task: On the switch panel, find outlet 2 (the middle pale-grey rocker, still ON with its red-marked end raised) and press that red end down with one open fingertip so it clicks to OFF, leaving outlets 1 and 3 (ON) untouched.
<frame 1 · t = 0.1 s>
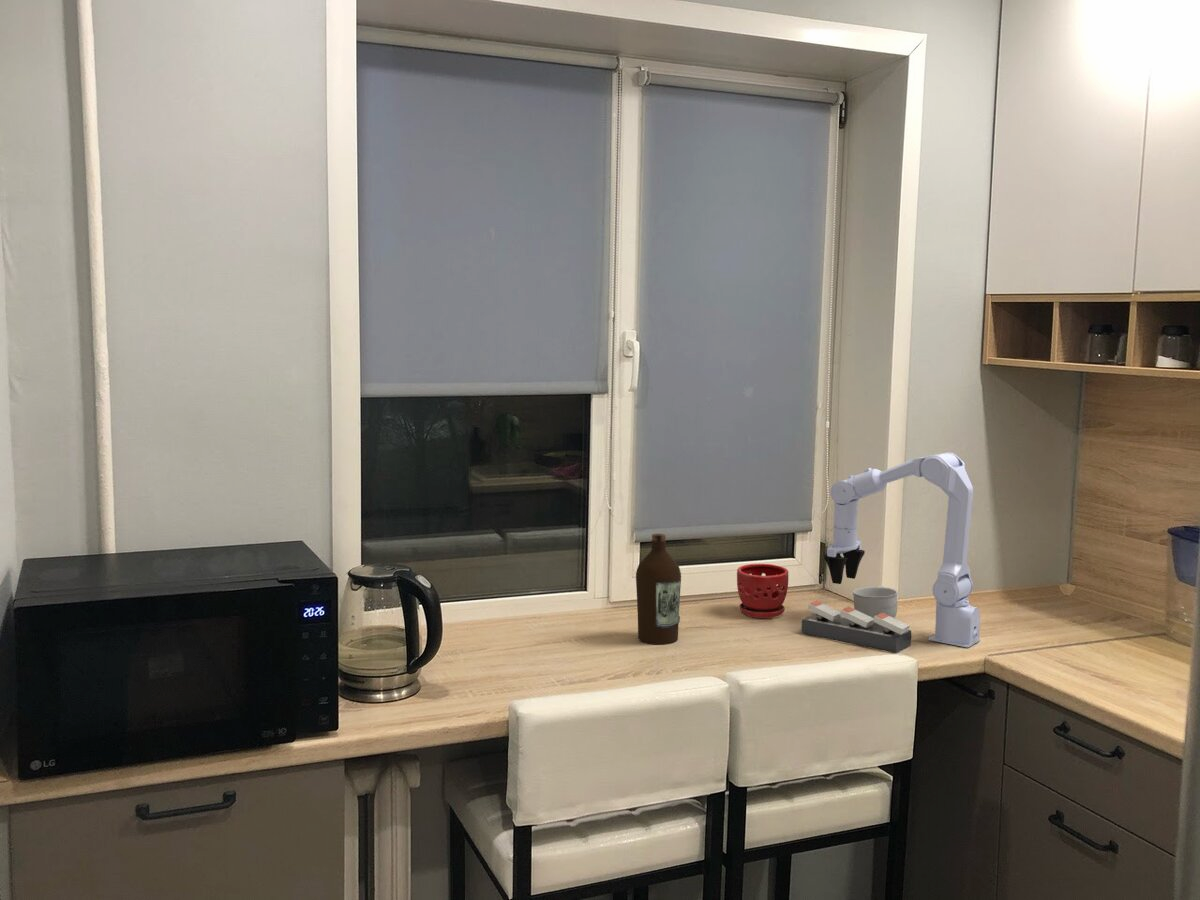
hand: (843, 580, 255), 10 cm above the worktop, tool pointing down, fingers open, 7 cm apart
rocker 3: (824, 610, 244), point 6 cm above the worktop, hinge at -15.0°
plant pot: (761, 615, 261), on the worktop
switch panel: (855, 639, 239), on the worktop
olive oil: (658, 639, 239), on the worktop
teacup: (876, 621, 255), on the worktop
rocker 1: (891, 623, 233), point 6 cm above the worktop, hinge at -15.0°
rocker 2: (857, 616, 238), point 6 cm above the worktop, hinge at -15.0°
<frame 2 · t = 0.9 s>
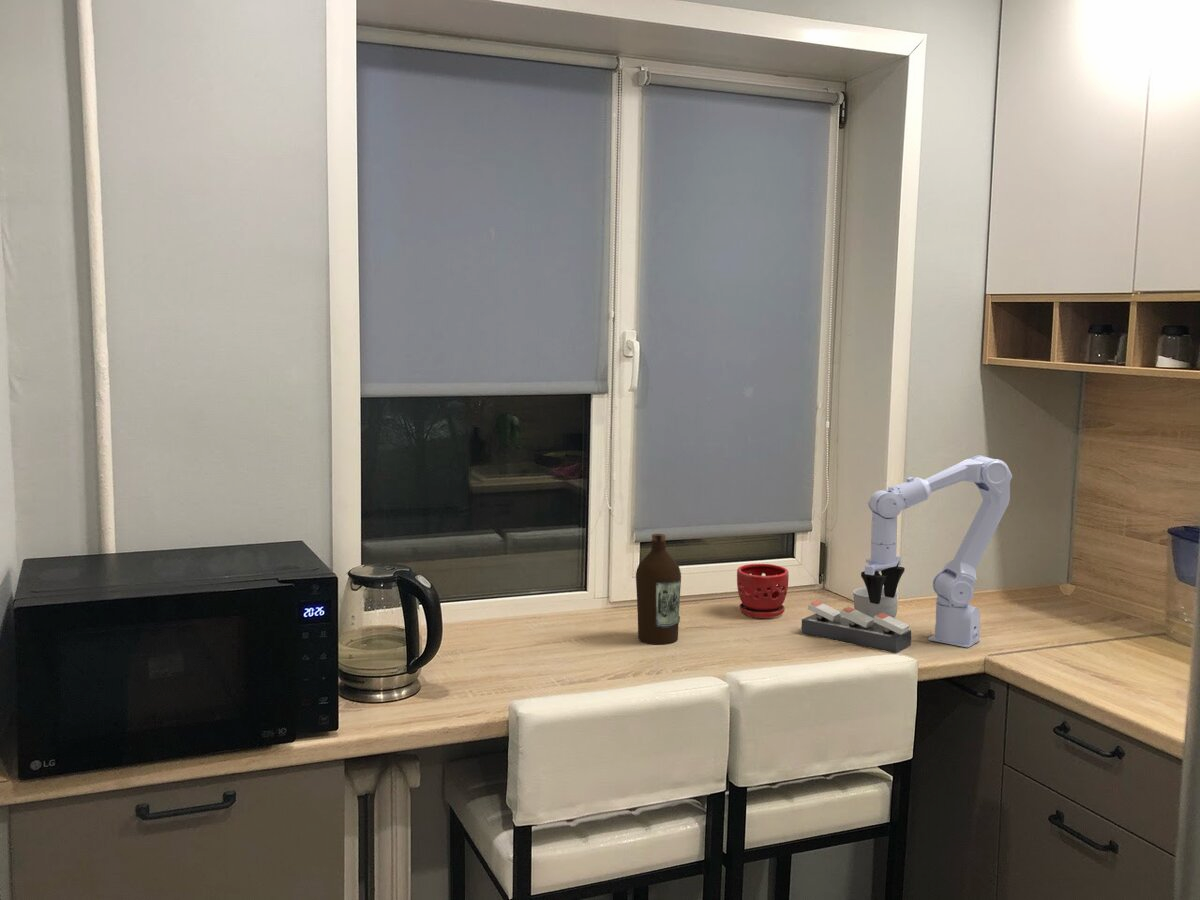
hand: (882, 600, 236), 10 cm above the worktop, tool pointing down, fingers open, 7 cm apart
nothing on the worktop moved.
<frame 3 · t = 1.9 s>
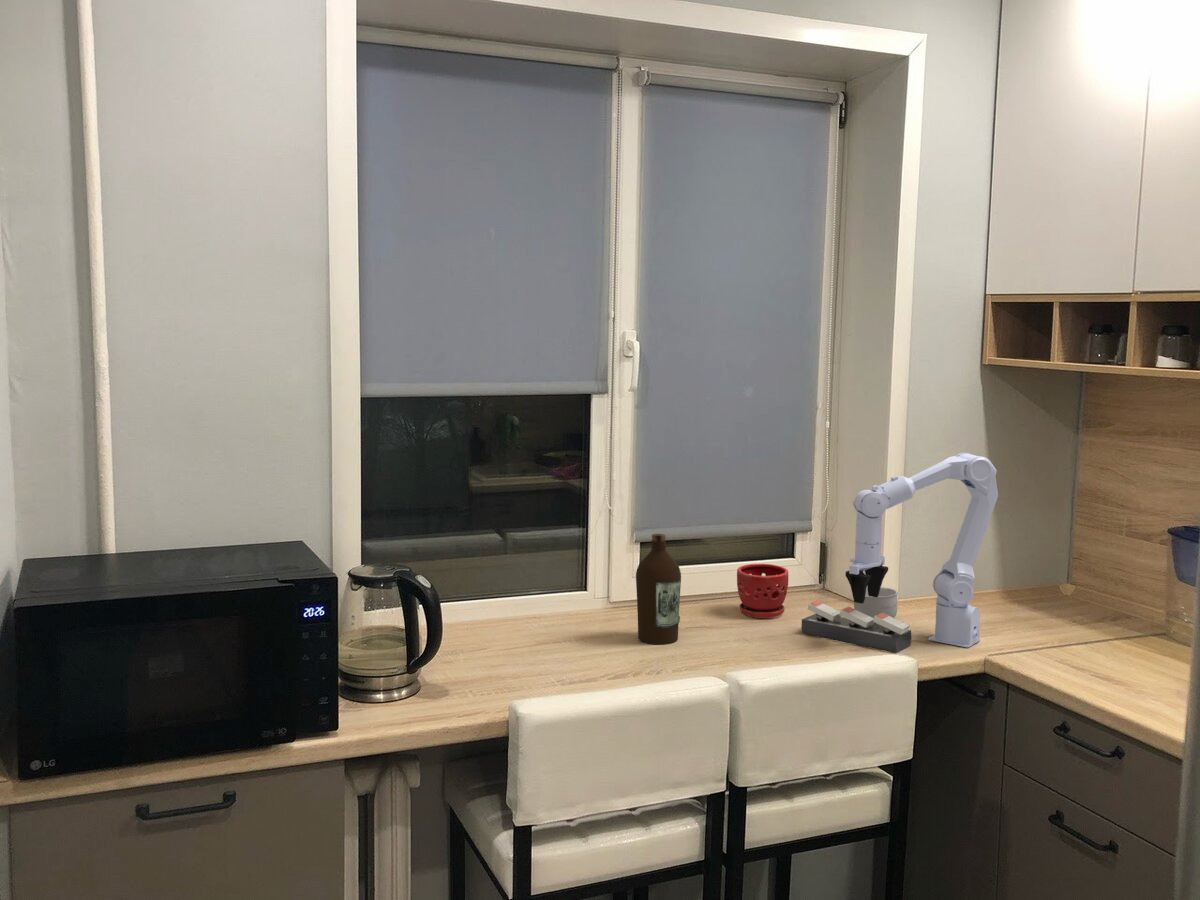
hand: (866, 599, 236), 10 cm above the worktop, tool pointing down, fingers open, 7 cm apart
nothing on the worktop moved.
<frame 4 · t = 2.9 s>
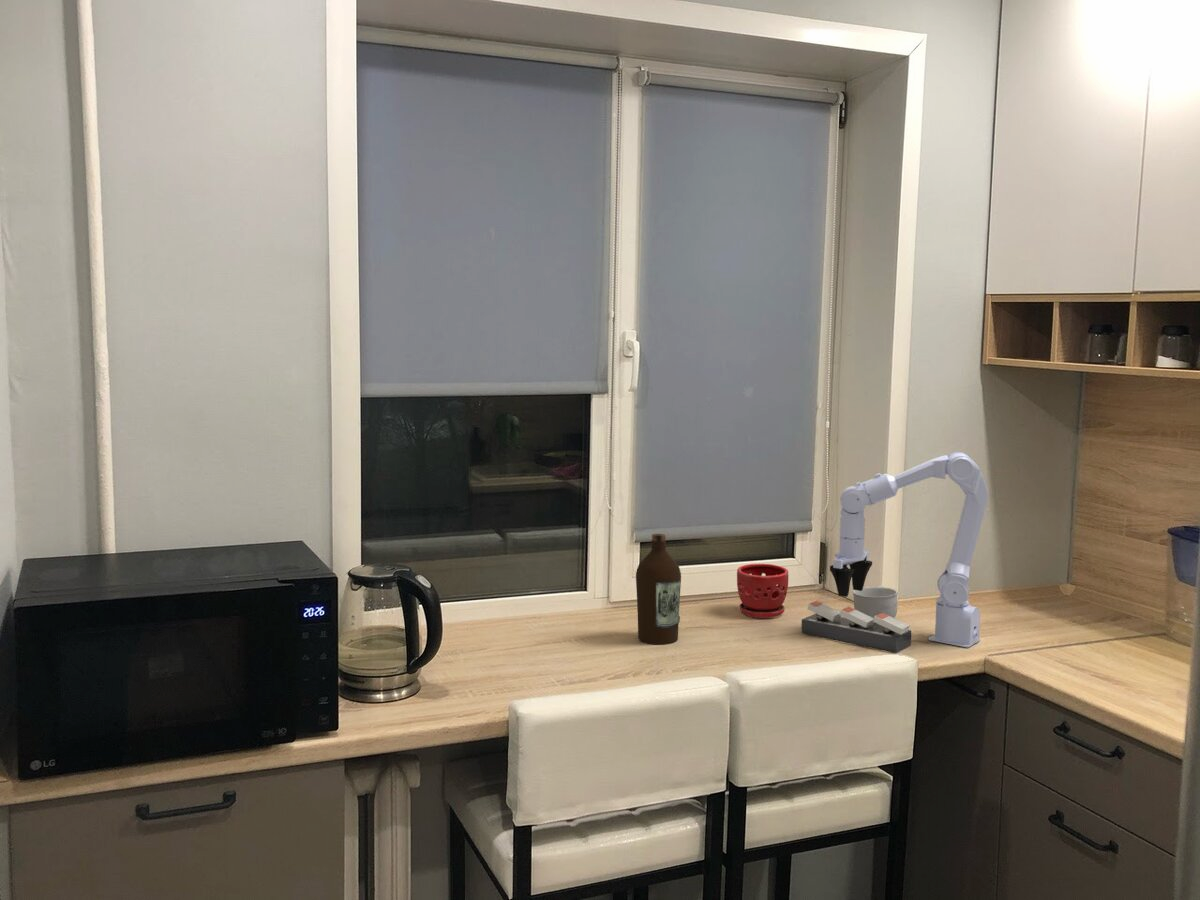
hand: (850, 593, 243), 10 cm above the worktop, tool pointing down, fingers open, 7 cm apart
nothing on the worktop moved.
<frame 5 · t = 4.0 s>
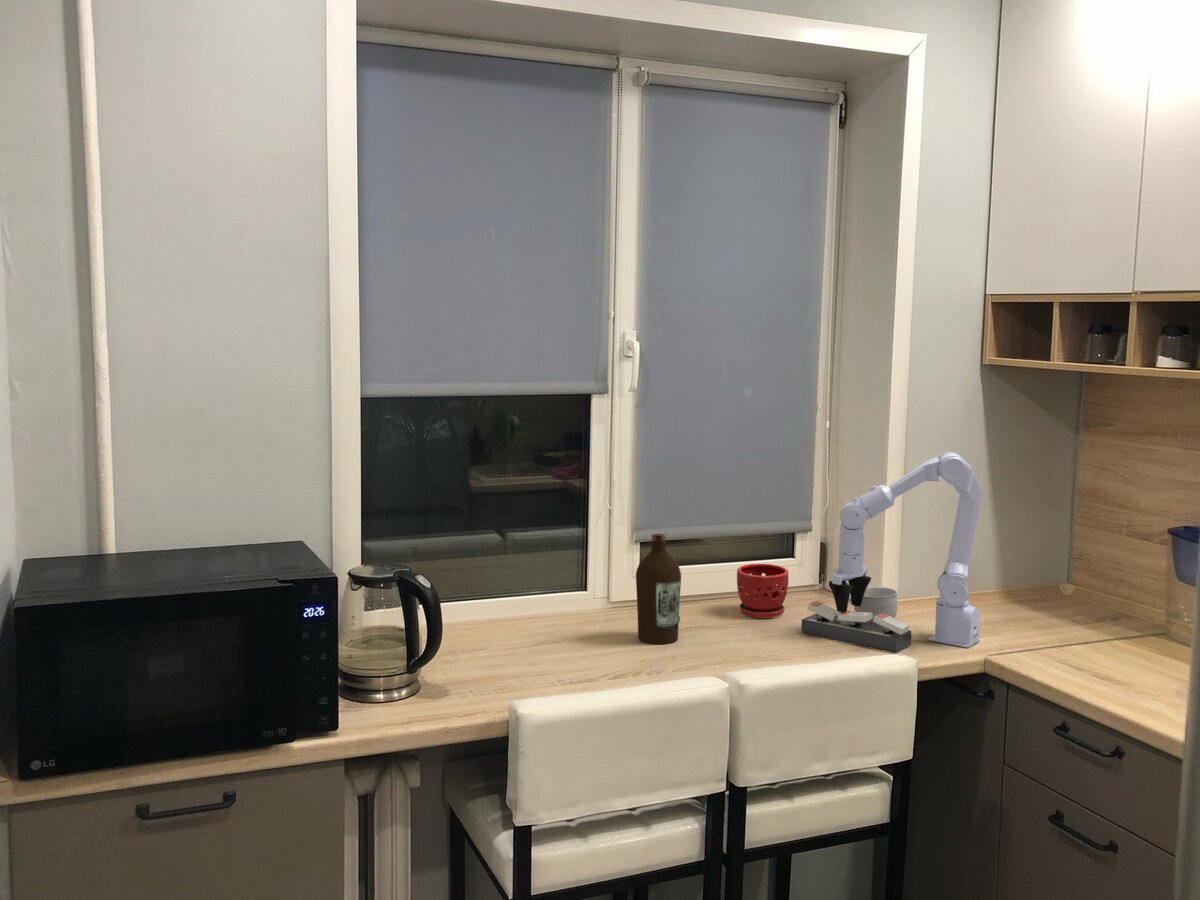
hand: (849, 608, 243), 6 cm above the worktop, tool pointing down, fingers open, 7 cm apart
rocker 2: (855, 616, 238), point 6 cm above the worktop, hinge at 6.3°, touching gripper
everything else where it was.
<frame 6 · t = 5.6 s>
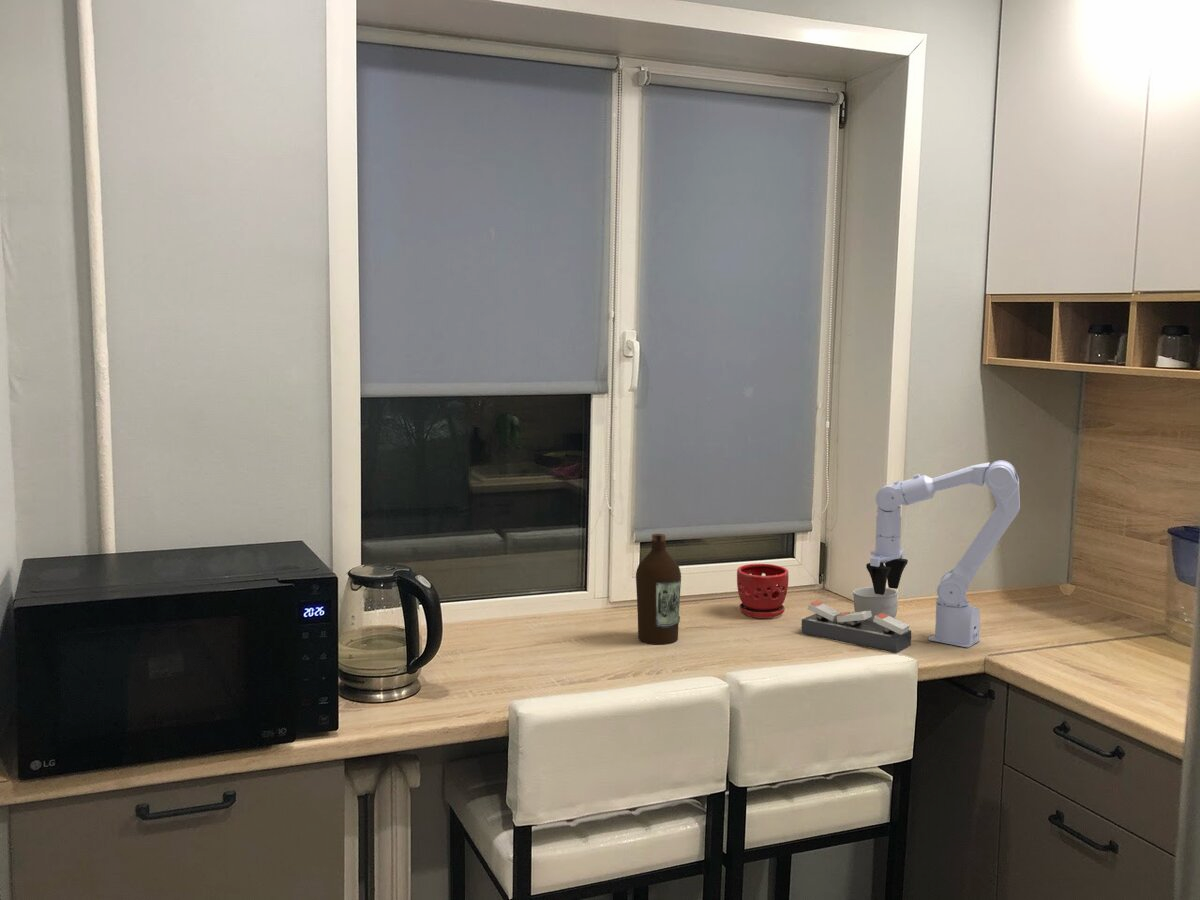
hand: (886, 591, 243), 10 cm above the worktop, tool pointing down, fingers open, 7 cm apart
rocker 2: (854, 616, 239), point 6 cm above the worktop, hinge at 15.2°
everything else where it was.
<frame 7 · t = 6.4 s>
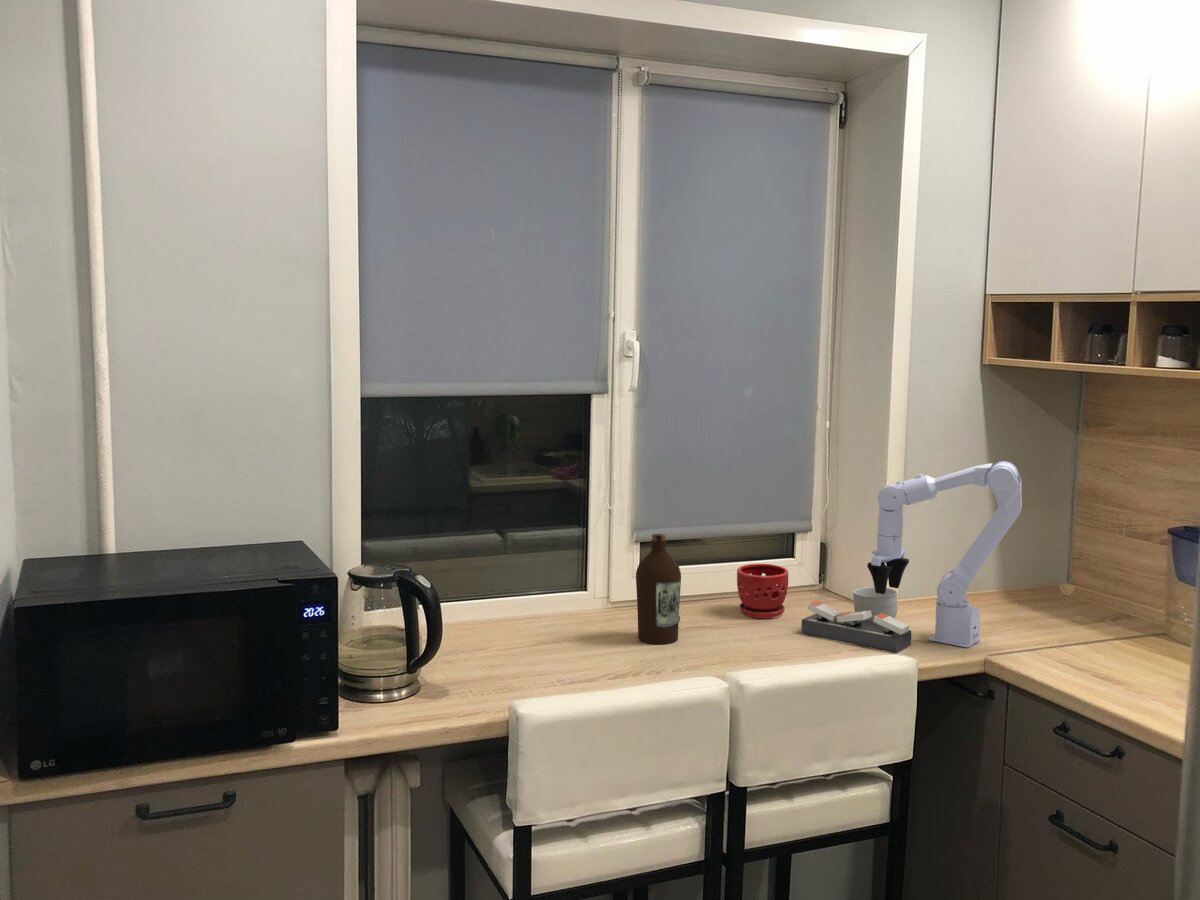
hand: (887, 590, 243), 10 cm above the worktop, tool pointing down, fingers open, 7 cm apart
nothing on the worktop moved.
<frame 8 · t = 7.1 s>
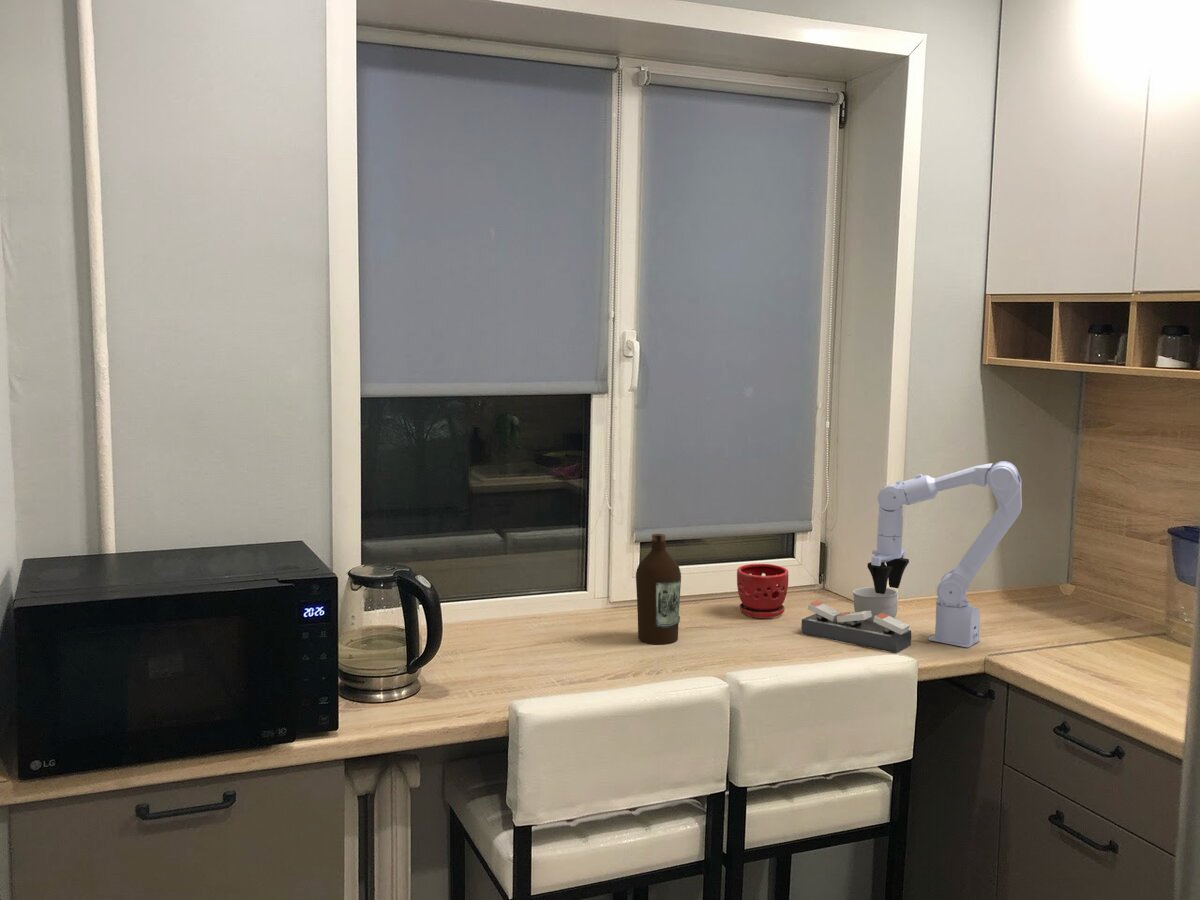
hand: (887, 590, 243), 10 cm above the worktop, tool pointing down, fingers open, 7 cm apart
nothing on the worktop moved.
at the end: rocker 2 at +15° (first picture: -15°); rocker 1 at -15° (first picture: -15°); rocker 3 at -15° (first picture: -15°) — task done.
